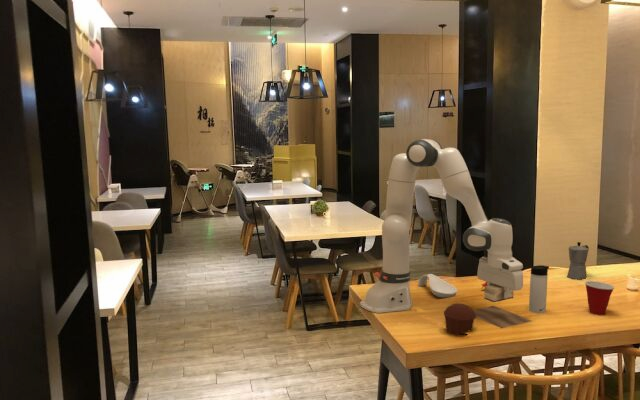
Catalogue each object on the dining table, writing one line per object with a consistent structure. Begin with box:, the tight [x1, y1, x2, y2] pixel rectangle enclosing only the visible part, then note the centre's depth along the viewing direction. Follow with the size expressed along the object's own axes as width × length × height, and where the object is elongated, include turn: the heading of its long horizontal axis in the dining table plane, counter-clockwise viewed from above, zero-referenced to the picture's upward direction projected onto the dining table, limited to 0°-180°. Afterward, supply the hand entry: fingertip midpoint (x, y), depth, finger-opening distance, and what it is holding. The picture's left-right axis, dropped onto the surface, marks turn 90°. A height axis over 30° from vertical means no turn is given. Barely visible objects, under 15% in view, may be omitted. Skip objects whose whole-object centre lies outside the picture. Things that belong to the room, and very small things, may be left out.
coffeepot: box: [567, 241, 589, 281], centre depth 266 cm, size 15×9×18 cm, turn 126°
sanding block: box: [484, 284, 514, 303], centre depth 207 cm, size 10×5×5 cm, turn 118°
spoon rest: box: [417, 273, 458, 299], centre depth 243 cm, size 24×12×7 cm, turn 22°
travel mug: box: [528, 264, 550, 314], centre depth 213 cm, size 6×7×20 cm
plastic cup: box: [584, 280, 616, 316], centre depth 215 cm, size 11×11×12 cm
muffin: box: [443, 303, 476, 337], centre depth 196 cm, size 12×11×10 cm
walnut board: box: [472, 305, 533, 329], centre depth 208 cm, size 16×20×2 cm
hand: (498, 295), depth 207 cm, fingers closed on sanding block, 5 cm apart
